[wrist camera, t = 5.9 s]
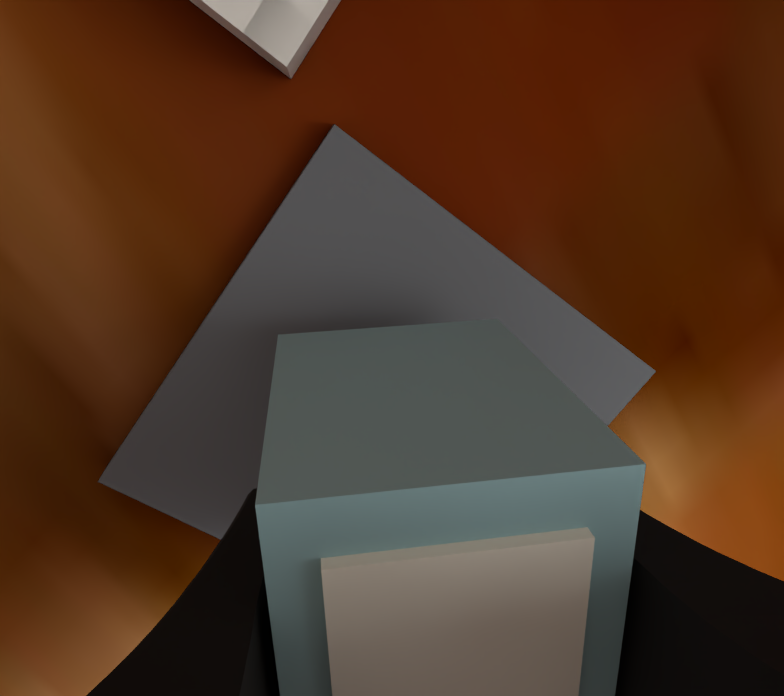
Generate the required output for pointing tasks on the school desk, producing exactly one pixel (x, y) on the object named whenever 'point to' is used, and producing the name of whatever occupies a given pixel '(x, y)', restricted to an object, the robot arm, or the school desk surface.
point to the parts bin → (273, 26)
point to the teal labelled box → (441, 518)
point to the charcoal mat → (340, 326)
